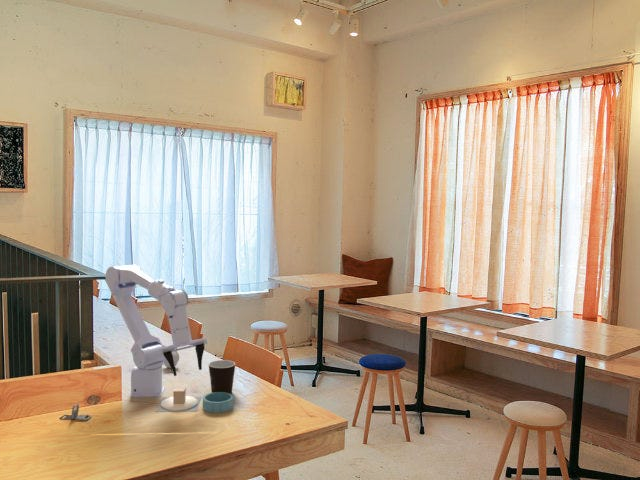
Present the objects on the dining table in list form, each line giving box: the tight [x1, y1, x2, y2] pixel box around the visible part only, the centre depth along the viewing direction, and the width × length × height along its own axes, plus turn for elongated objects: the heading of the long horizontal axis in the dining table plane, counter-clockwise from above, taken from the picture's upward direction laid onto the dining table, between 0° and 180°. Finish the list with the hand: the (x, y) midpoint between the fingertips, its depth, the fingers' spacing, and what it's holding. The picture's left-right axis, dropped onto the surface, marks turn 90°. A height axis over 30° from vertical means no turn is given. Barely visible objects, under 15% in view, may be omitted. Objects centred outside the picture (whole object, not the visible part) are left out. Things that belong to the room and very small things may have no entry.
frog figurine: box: [164, 351, 180, 369], centre depth 208 cm, size 6×7×7 cm
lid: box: [160, 387, 198, 411], centre depth 171 cm, size 11×11×5 cm
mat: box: [155, 396, 202, 413], centre depth 171 cm, size 12×12×1 cm
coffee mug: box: [208, 359, 236, 394], centre depth 183 cm, size 12×9×10 cm
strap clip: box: [58, 403, 92, 422], centre depth 160 cm, size 8×3×4 cm, turn 84°
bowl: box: [202, 392, 234, 414], centre depth 169 cm, size 9×9×4 cm
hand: (187, 372), depth 171 cm, fingers open, 7 cm apart
